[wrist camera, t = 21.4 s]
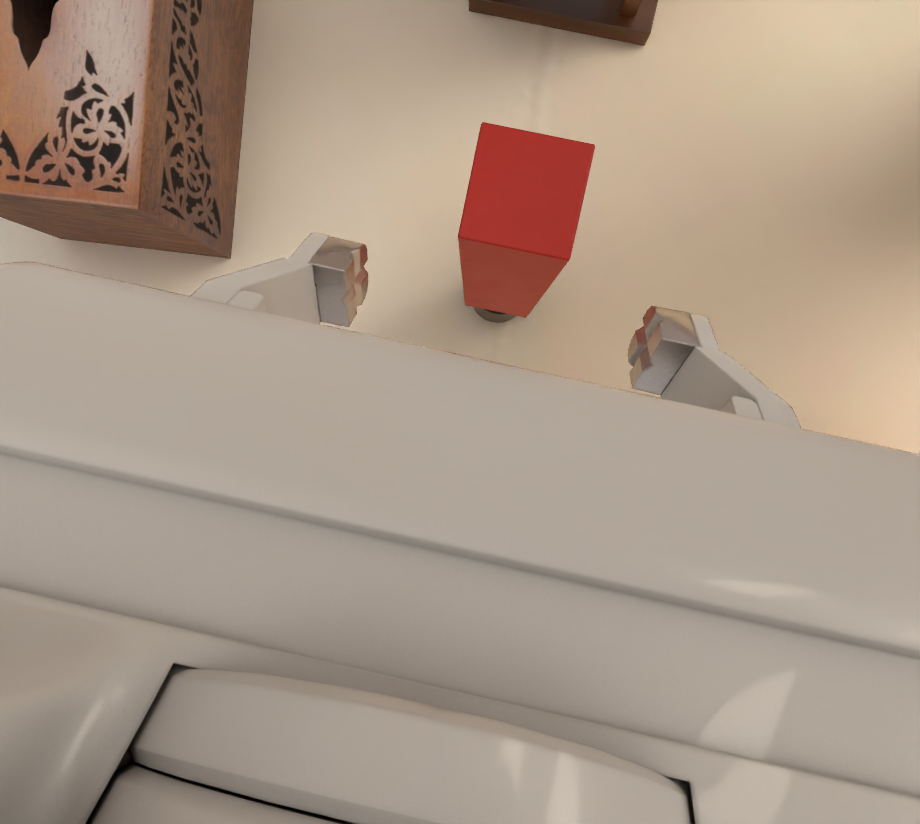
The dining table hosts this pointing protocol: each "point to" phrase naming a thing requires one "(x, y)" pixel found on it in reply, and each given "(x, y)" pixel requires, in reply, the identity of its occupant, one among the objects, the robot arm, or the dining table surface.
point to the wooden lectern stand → (580, 15)
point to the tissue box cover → (124, 119)
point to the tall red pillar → (519, 217)
